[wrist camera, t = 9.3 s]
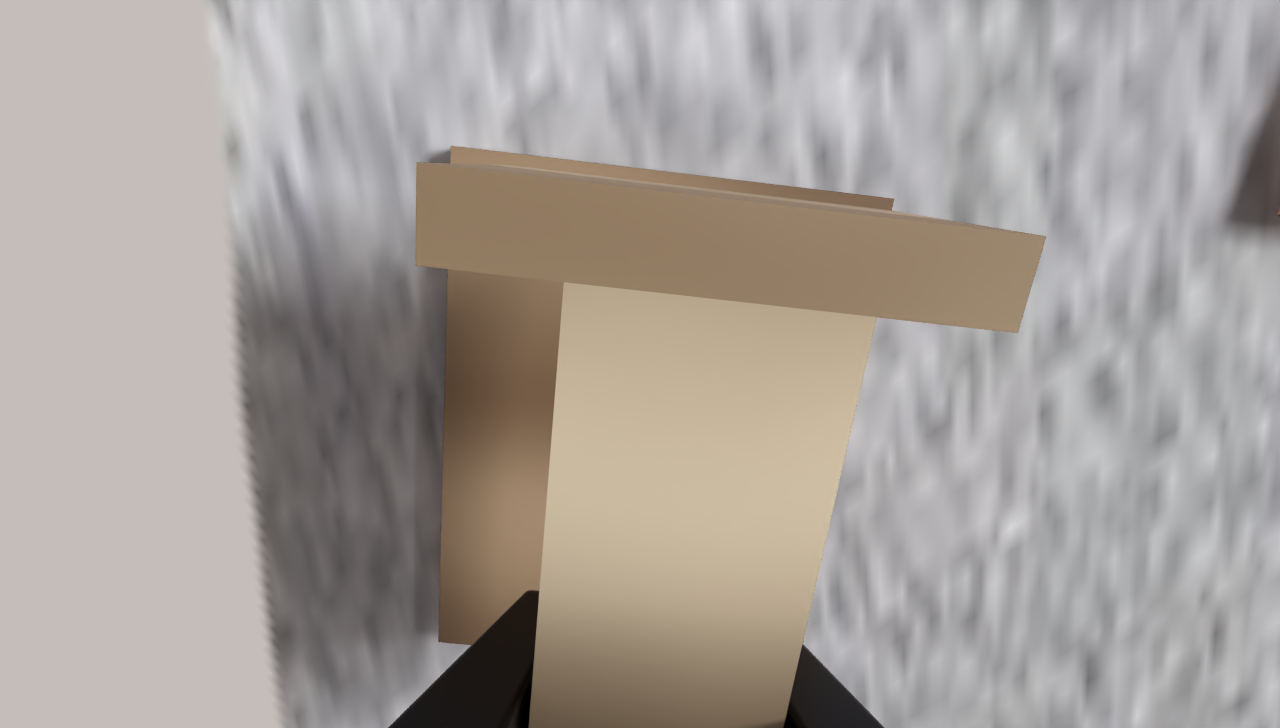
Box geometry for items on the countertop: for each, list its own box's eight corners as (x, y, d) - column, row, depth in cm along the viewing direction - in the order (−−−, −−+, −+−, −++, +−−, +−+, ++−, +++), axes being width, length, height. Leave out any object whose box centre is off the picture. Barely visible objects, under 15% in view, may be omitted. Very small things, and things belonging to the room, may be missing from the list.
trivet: (782, 656, 17) (787, 673, 16) (445, 625, 17) (438, 641, 16) (883, 197, 14) (894, 198, 13) (458, 146, 13) (450, 145, 13)
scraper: (750, 815, 12) (797, 1078, 8) (476, 791, 11) (407, 1051, 8) (884, 210, 8) (1045, 236, 5) (506, 165, 8) (417, 162, 5)
